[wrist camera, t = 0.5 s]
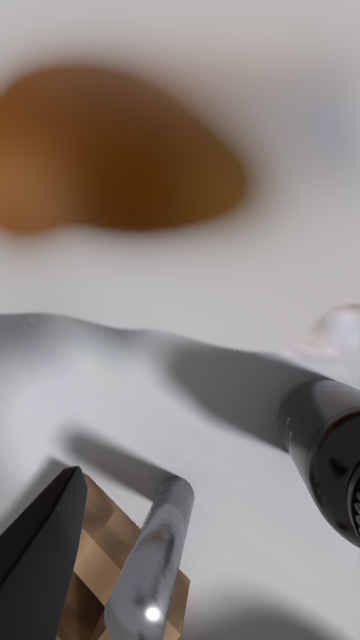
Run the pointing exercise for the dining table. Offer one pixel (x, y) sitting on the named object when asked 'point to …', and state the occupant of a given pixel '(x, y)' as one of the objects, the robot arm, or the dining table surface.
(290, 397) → the supplement bottle
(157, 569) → the peg
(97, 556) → the peg board
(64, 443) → the dining table surface
